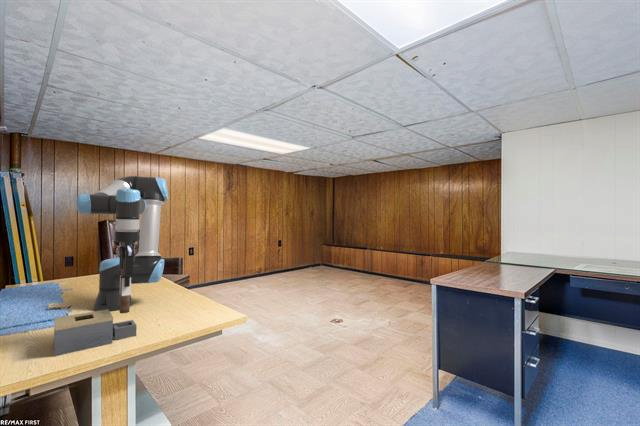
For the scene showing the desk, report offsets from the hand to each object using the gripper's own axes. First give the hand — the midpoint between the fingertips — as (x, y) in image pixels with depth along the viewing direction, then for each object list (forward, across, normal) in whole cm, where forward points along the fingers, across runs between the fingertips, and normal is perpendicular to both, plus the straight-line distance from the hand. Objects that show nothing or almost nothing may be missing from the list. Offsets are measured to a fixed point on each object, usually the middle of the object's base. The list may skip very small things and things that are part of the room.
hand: (125, 294), depth 111 cm
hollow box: (+15, 0, -12) cm, 19 cm away
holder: (+15, 0, 0) cm, 15 cm away
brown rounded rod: (+7, 0, 0) cm, 7 cm away
